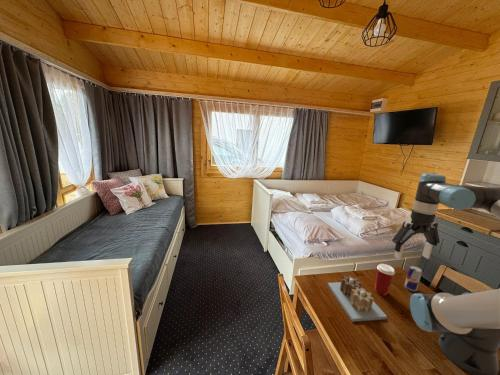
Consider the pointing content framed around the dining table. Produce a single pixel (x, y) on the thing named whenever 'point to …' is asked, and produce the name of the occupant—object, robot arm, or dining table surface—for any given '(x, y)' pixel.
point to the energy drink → (413, 278)
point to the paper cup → (383, 278)
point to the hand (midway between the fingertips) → (411, 257)
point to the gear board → (351, 310)
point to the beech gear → (361, 300)
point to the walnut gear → (349, 285)
